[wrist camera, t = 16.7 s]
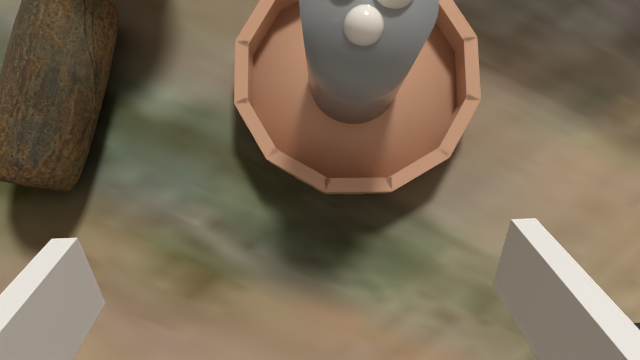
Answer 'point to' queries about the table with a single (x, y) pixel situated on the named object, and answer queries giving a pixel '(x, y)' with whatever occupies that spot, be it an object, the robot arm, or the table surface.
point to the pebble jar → (362, 52)
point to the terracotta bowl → (354, 139)
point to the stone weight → (54, 89)
